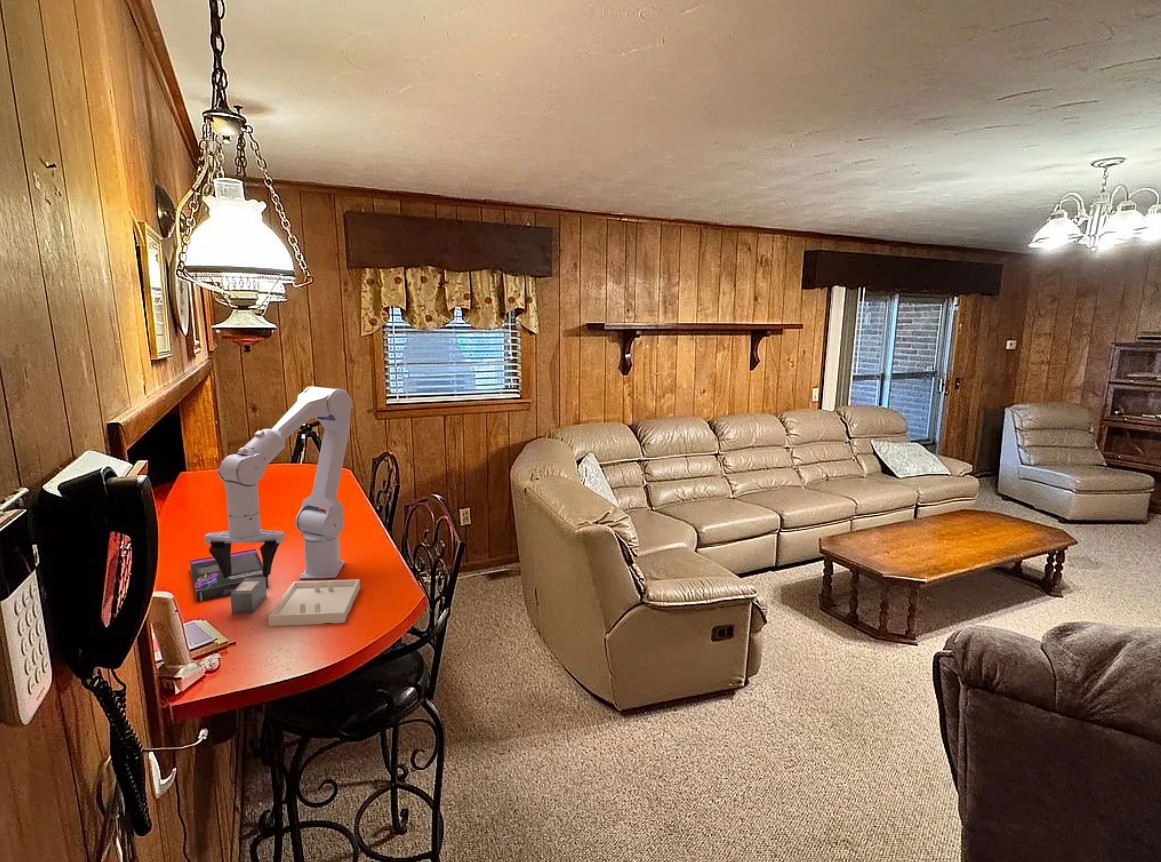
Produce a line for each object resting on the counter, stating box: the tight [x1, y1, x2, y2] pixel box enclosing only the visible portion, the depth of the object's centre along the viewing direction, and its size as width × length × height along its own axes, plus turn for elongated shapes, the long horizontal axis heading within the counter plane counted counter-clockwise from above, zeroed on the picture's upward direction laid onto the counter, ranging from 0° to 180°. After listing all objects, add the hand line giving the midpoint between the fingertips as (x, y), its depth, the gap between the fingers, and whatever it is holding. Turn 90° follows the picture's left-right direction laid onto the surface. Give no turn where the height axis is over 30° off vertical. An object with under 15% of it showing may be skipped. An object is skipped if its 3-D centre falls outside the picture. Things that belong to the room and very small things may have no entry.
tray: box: [268, 578, 361, 627], centre depth 127 cm, size 16×14×3 cm
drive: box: [229, 577, 267, 615], centre depth 126 cm, size 8×4×5 cm, turn 9°
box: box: [189, 548, 269, 602], centre depth 139 cm, size 14×4×20 cm
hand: (247, 575), depth 125 cm, fingers open, 7 cm apart
